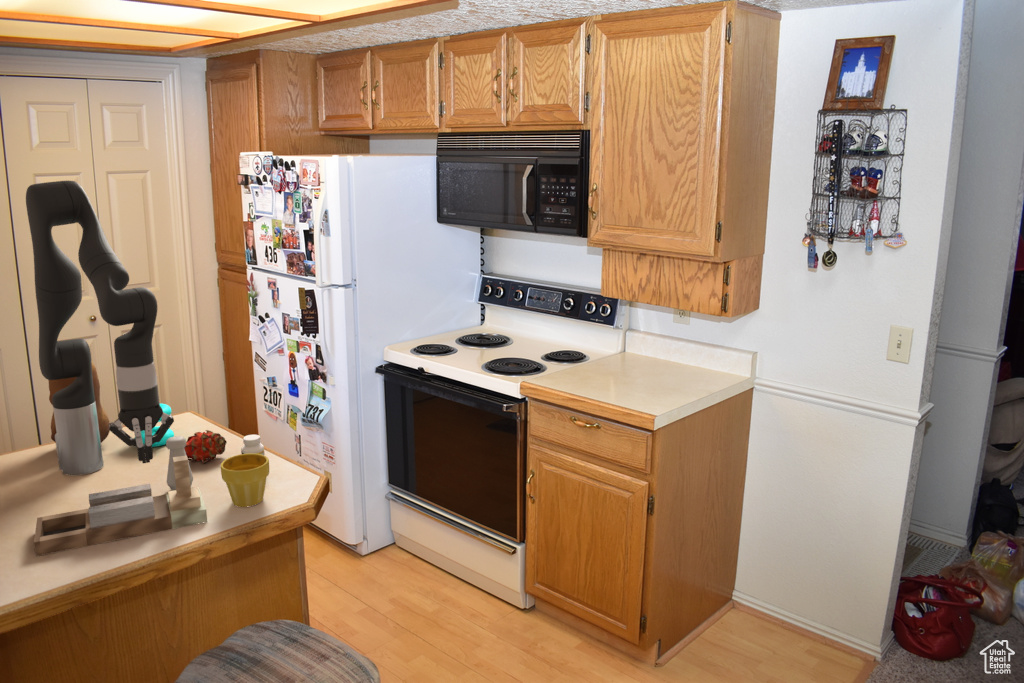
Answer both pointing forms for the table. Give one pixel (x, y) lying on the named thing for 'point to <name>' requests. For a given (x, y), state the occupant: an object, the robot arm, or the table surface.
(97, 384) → the butternut squash
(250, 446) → the supplement bottle
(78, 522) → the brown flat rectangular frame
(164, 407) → the donuts
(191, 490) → the slider block
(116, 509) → the grey slotted block
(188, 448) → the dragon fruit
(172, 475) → the salt shaker
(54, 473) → the table surface
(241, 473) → the plant pot
